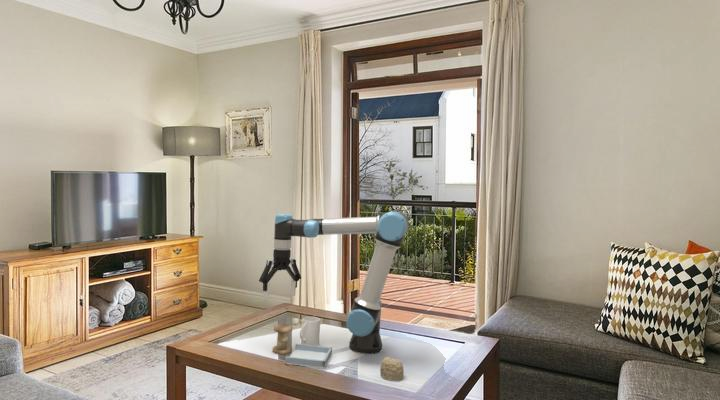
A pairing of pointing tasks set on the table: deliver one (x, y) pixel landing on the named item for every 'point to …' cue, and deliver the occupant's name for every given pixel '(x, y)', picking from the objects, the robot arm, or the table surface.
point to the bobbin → (282, 339)
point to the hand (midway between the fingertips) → (279, 296)
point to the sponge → (391, 369)
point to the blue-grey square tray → (310, 356)
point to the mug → (310, 331)
